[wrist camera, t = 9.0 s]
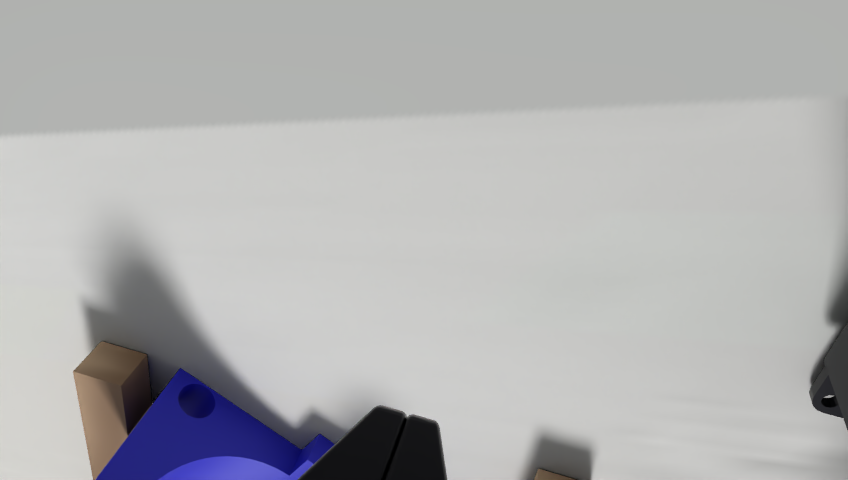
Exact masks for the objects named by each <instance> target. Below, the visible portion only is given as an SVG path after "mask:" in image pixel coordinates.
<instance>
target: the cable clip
mask: <svg viewBox="0 0 848 480" xmlns="http://www.w3.org/2000/svg"><path fill="white" fill-rule="evenodd" d="M334 445H335V444H334V443H332V442H331V441H330V440H328V439H327V438H325V437H324V436H322V435H321V434H319V435H318V436H317V437H316V438H315V439H313V440H312V441H311V442H310V443H309V444H308V445H307V446H306V447H305V448H304V449H302V450H301V449H299V448H298V447H296V446H295V445H294V444H292V443H291V442H289V441H288V440H286V439H285V438H283V437H282V436H280V435H279V434H277V433H276V432H274V431H273V430H271V429H270V428H268V427H267V426H265V425H264V424H263V423H261V422H260V421H258V420H257V419H255V418H254V417H252V416H251V415H249V414H248V413H246V412H245V411H243V410H242V409H240V408H239V407H237V406H236V405H234V404H233V403H232V402H230V401H229V400H227V399H226V398H224V397H223V396H221V395H220V394H218V393H217V392H215V391H214V390H212V389H211V388H209V387H208V386H206V385H205V384H203V383H202V382H201V381H199V380H198V379H196V378H195V377H193V376H192V375H190V374H189V373H187V372H186V371H184V370H183V369H181V368H180V369H179V370H178V372H177V373H176V374H175V376H174V377H173V378H172V379H171V381H170V382H169V383H168V385H167V386H166V387H165V388H164V390H163V391H162V392H161V394H160V395H159V396H158V398H157V399H156V400H155V401H154V403H153V404H152V405H151V407H150V408H149V409H148V411H147V412H146V413H145V415H144V416H143V417H142V419H141V420H140V421H139V422H138V424H137V425H136V426H135V428H134V429H133V430H132V432H131V433H130V434H129V436H128V437H127V438H126V440H125V441H124V442H123V444H122V445H121V446H120V447H119V449H118V450H117V451H116V453H115V454H114V455H113V457H112V458H111V459H110V461H109V462H108V463H107V465H106V466H105V467H104V469H103V470H102V471H101V472H100V474H99V475H98V476H97V478H96V479H95V480H297V479H298V478H299V477H301V476H302V475H303V474H304V473H305V472H306V471H307V470H308V469H309V468H310V467H311V466H312V465H313V464H314V463H315V462H317V461H318V460H319V459H320V458H321V457H322V456H323V455H324V454H325V453H326V452H327V451H328V450H329V449H330V448H331V447H333V446H334Z"/></svg>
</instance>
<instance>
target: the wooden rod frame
mask: <svg viewBox="0 0 848 480" xmlns="http://www.w3.org/2000/svg"><path fill="white" fill-rule="evenodd" d="M73 374H74V379H75V384H76V390H77V395H78V400H79V406H80V411H81V417H82V422H83V427H84V433H85V438H86V443H87V449H88V454H89V459H90V465H91V470H92V475H93V480H95V479H96V478H97V476H98V475H99V474H100V472H101V471H102V470H103V469H104V467H105V466H106V465H107V463H108V462H109V461H110V459H111V458H112V457H113V455H114V454H115V453H116V451H117V450H118V449H119V447H120V446H121V445H122V444H123V442H124V441H125V440H126V438H127V437H128V436H129V434H130V433H131V432H132V430H133V429H134V428H135V426H136V425H137V424H138V422H139V421H140V420H141V419H142V417H143V416H144V415H145V413H146V412H147V411H148V409H149V408H150V407H151V405H152V399H151V389H150V379H149V369H148V359H147V354H144V353H140V352H137V351H133V350H130V349H126V348H123V347H120V346H116V345H113V344H109V343H106V342H102V341H101V342H100V343H99V344H98V345H97V346H96V348H95V349H94V350H93V351H92V352H91V353H90V354H89V355H88V356H87V357H86V358H85V359H84V360H83V361H82V363H81V364H80V365H79V366H78V367H77V368H76V369H75V370H74V371H73ZM534 480H576V479H572V478H569V477H565V476H562V475H559V474H555V473H552V472H548V471H545V470H541V469H538V470H537V473H536V476H535V478H534Z"/></svg>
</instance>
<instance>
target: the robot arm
mask: <svg viewBox="0 0 848 480" xmlns="http://www.w3.org/2000/svg"><path fill="white" fill-rule="evenodd" d="M824 364H825V367H824V368H823V370H822V371H821V373H820V374H819V376H818V377H817V379H816V380H815V382H814V383H813V385H812V386H811V388H810V391H809V394H810V397H811V401H812V404H813V406H814V407H815V408H816V409H817V410H818V411H820V412H823V413H826V414H830V415H834V416H837V417H841V418H844V421H845V424H846V427H847V430H848V323H847V324H846V326H845V327H844V329H843V331H842V332H841V334H840V335H839V337H838V338H837V340H836V341H835V343H834V344H833V346H832V347H831V349H830V350H829V352H828V354H827V355H826V357H825V358H824ZM828 395H835V396H834V397H831V398H824V397H825V396H828ZM297 480H447V475H446V468H445V461H444V455H443V448H442V441H441V434H440V428H439V425H438V423H437V422H436V421H434V420H431V419H427V418H424V417H420V416H417V415H409V416H408V417H407V416H406V414H405V413H404V412H403V411H400V410H396V409H393V408H389V407H386V406H381V405H379V406H376V407H375V408H373V409H372V410H371V411H370V412H369V413H368V414H367V415H366V416H365V417H364V418H362V419H361V420H360V421H359V422H358V423H357V424H356V425H355V426H354V427H353V428H352V429H351V430H350V431H349V432H348V433H346V434H345V435H344V436H343V437H342V438H341V439H340V440H339V441H338V442H337V443H336V444H335V445H334V446H333V447H331V448H330V449H329V450H328V451H327V452H326V453H325V454H324V455H323V456H322V457H321V458H320V459H319V460H318V461H317V462H315V463H314V464H313V465H312V466H311V467H310V468H309V469H308V470H307V471H306V472H305V473H304V474H303V475H302V476H301V477H299V478H298V479H297Z"/></svg>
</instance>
